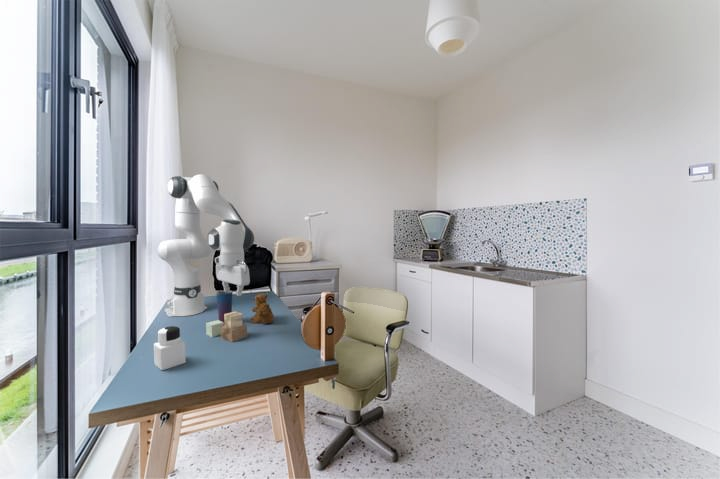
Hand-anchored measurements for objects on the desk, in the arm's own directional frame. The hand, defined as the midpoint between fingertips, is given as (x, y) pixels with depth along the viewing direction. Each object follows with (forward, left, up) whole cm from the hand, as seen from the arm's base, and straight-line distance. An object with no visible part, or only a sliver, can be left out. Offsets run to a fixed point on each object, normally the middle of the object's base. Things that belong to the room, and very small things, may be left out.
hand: (232, 293), depth 119 cm
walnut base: (0, 0, -18) cm, 18 cm away
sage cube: (-10, -3, -18) cm, 21 cm away
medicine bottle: (+5, -25, -18) cm, 31 cm away
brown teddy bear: (-7, +19, -19) cm, 28 cm away
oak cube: (0, 0, -13) cm, 13 cm away
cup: (-19, +6, -18) cm, 27 cm away
